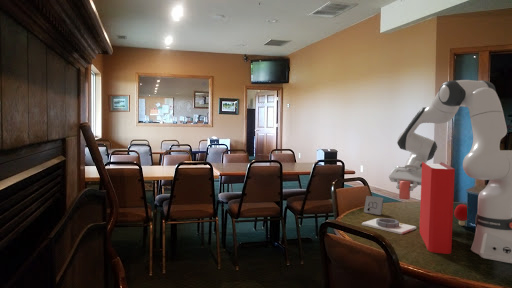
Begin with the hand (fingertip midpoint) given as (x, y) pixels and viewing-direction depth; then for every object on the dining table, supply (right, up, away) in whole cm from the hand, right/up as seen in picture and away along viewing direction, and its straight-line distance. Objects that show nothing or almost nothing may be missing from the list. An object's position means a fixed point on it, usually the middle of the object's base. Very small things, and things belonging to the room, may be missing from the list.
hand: (404, 189), depth 186 cm
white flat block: (-11, -17, -9) cm, 22 cm away
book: (0, -18, -31) cm, 36 cm away
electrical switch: (-9, -15, +18) cm, 26 cm away
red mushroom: (+25, -17, -5) cm, 31 cm away
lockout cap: (0, -5, +1) cm, 5 cm away
